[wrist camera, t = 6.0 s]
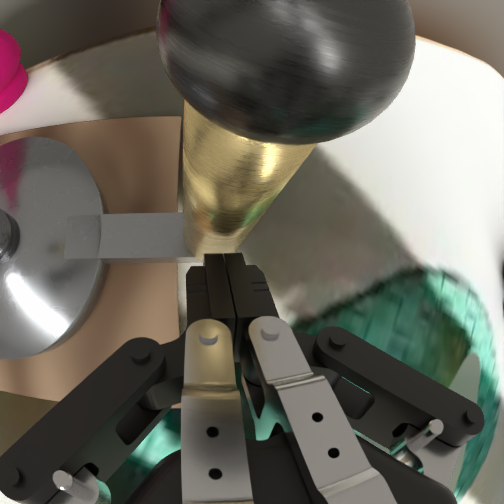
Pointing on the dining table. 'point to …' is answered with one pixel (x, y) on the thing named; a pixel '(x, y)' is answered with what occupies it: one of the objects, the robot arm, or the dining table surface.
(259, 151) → the turntable
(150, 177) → the stand
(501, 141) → the dining table surface
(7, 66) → the pepper mill
